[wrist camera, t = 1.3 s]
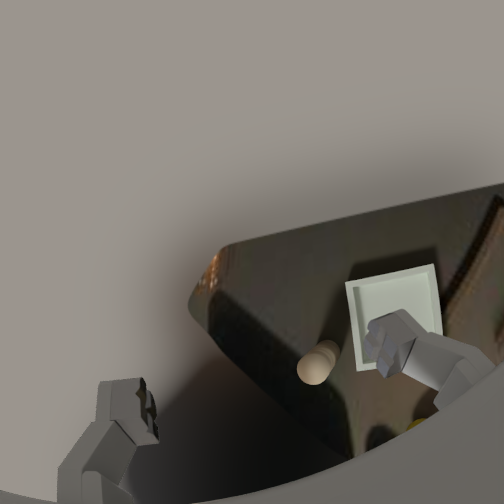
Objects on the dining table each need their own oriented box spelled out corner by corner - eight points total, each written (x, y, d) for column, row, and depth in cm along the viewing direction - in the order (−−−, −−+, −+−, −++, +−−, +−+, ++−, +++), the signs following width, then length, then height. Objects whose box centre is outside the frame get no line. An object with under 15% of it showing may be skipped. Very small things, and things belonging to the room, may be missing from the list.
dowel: (338, 338, 45) (326, 352, 36) (341, 363, 45) (330, 383, 36) (312, 341, 47) (295, 355, 38) (316, 366, 46) (299, 385, 37)
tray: (430, 264, 40) (433, 263, 37) (440, 350, 38) (444, 355, 35) (347, 281, 46) (345, 282, 43) (358, 365, 43) (356, 371, 41)
